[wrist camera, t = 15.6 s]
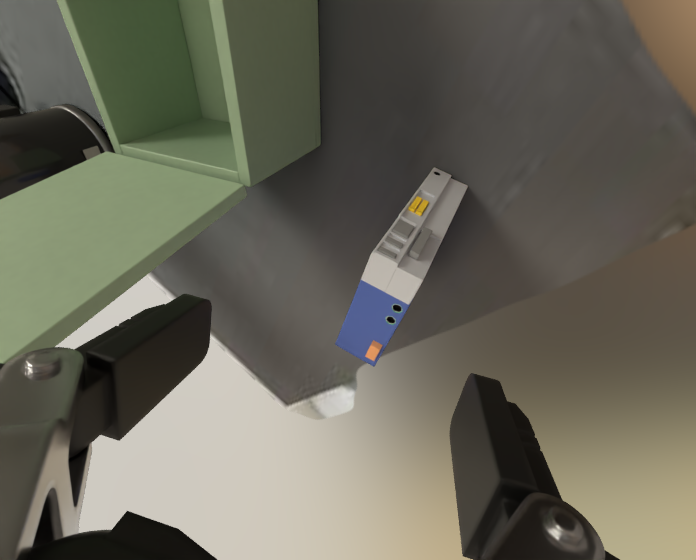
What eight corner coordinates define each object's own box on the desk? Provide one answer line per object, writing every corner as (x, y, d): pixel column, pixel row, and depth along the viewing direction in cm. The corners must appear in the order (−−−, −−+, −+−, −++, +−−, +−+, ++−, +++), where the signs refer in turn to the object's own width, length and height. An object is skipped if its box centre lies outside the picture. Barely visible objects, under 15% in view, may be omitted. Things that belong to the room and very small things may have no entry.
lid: (-273, 321, 13) (-132, 395, 17) (-123, 456, 10) (14, 510, 14) (106, 150, 24) (141, 219, 28) (244, 184, 20) (262, 258, 24)
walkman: (425, 264, 29) (372, 371, 21) (395, 249, 30) (331, 348, 21) (471, 182, 24) (425, 281, 16) (434, 165, 25) (369, 252, 16)
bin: (145, -151, 21) (-28, -216, 15) (314, -174, 18) (180, -273, 11) (204, 123, 31) (115, 154, 25) (321, 145, 27) (251, 187, 21)
